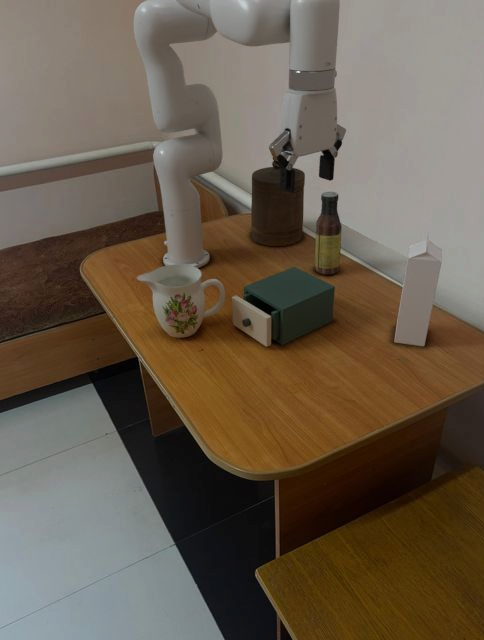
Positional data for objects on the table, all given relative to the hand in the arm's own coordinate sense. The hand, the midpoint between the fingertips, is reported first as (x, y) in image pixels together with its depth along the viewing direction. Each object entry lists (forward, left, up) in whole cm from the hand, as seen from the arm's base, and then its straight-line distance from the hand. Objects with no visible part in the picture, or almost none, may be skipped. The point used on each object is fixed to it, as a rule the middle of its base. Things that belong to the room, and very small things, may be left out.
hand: (306, 184), depth 98 cm
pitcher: (-16, -19, -31) cm, 40 cm away
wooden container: (-41, +29, -31) cm, 59 cm away
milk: (+17, +15, -31) cm, 39 cm away
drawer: (-4, -5, -30) cm, 31 cm away
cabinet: (-4, 0, -31) cm, 31 cm away
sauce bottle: (-16, +24, -31) cm, 43 cm away
